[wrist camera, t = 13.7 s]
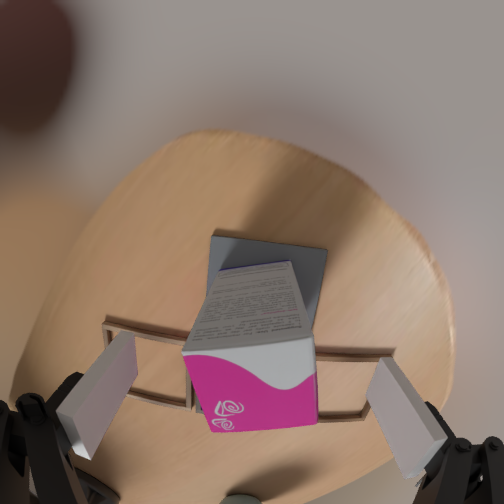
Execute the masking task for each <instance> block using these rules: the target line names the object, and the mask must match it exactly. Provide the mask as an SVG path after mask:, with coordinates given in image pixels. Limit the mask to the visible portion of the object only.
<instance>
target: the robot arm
mask: <svg viewBox="0 0 504 504" xmlns="http://www.w3.org/2000/svg"><path fill="white" fill-rule="evenodd" d="M137 375H138V370H137V360H136V349H135V336H134V333H132V332H127V331H123V330H121V331H120V332H119V333H118V335H117V336H116V337H115V338H114V339H113V341H112V342H111V343H110V344H109V345H108V346H107V348H106V349H105V350H104V351H103V352H102V354H101V355H100V356H99V357H98V358H97V360H96V361H95V362H94V363H93V364H92V366H91V367H90V368H89V369H88V371H87V372H86V373H85V374H82V373H79V372H75V373H73V374H71V375H70V376H68V377H67V378H66V379H65V380H64V382H63V383H62V384H61V385H60V386H59V387H58V390H56V391H55V392H54V393H53V395H52V396H51V397H50V398H49V399H48V400H47V402H46V403H45V401H44V399H43V398H42V397H41V396H40V395H38V394H35V393H26V394H23V395H21V396H20V397H19V398H18V399H17V401H16V405H15V406H16V408H17V410H18V412H15V411H11V410H10V409H9V407H8V405H7V404H6V403H5V402H4V401H2V400H0V504H119V501H120V499H119V497H118V496H117V495H116V494H115V493H114V492H113V491H112V490H111V489H109V488H108V487H107V486H105V485H104V484H103V483H101V482H100V481H98V480H96V479H95V478H93V477H91V476H90V475H88V474H86V473H84V472H82V471H80V470H78V469H76V468H74V466H73V463H72V460H71V457H70V455H69V453H68V451H69V450H70V448H71V446H72V448H73V450H74V452H75V454H77V455H80V456H82V457H84V458H87V459H89V460H91V459H92V457H93V455H94V453H95V451H96V449H97V448H98V446H99V444H100V442H101V440H102V438H103V436H104V434H105V433H106V431H107V429H108V427H109V425H110V423H111V421H112V420H113V418H114V416H115V414H116V412H117V411H118V409H119V407H120V405H121V403H122V402H123V400H124V398H125V396H126V394H127V393H128V391H129V389H130V387H131V386H132V384H133V382H134V380H135V379H136V377H137ZM365 396H366V398H367V400H368V402H369V404H370V406H371V408H372V410H373V412H374V414H375V416H376V418H377V421H378V423H379V425H380V427H381V429H382V431H383V433H384V435H385V438H386V440H387V442H388V444H389V446H390V448H391V451H392V453H393V455H394V457H395V459H396V461H397V464H398V466H399V468H400V471H401V473H402V475H403V477H404V479H408V478H411V477H415V476H418V475H419V473H420V472H421V471H422V470H423V469H425V471H426V474H425V475H424V476H423V477H422V478H421V479H420V481H419V482H418V483H417V484H416V487H417V486H418V485H419V484H420V483H421V484H420V487H419V490H418V492H417V495H416V497H415V499H414V501H413V504H504V445H503V442H502V441H501V440H500V439H499V438H497V437H494V436H491V437H488V438H486V440H485V441H484V442H483V444H480V445H472V444H471V442H469V441H468V440H467V439H465V438H456V436H455V435H454V433H453V432H452V430H451V429H450V428H449V426H448V425H447V423H446V422H445V421H444V420H443V418H442V416H441V415H439V412H438V410H437V409H436V408H435V407H434V406H433V405H432V404H430V403H429V402H428V401H427V402H424V401H423V400H422V398H421V397H420V396H419V394H418V393H417V391H416V390H415V388H414V387H413V386H412V384H411V383H410V381H409V380H408V379H407V377H406V376H405V374H404V373H403V372H402V370H401V369H400V368H399V366H398V365H397V364H396V362H395V361H394V359H393V358H392V357H380V360H379V362H378V365H377V368H376V370H375V373H374V375H373V378H372V380H371V383H370V385H369V387H368V390H367V392H366V394H365ZM30 468H31V473H32V477H33V481H34V485H35V489H36V492H37V495H36V494H35V493H34V492H33V491H31V490H30V489H29V472H30ZM481 476H483V480H482V481H481V480H480V477H481Z"/></svg>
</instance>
